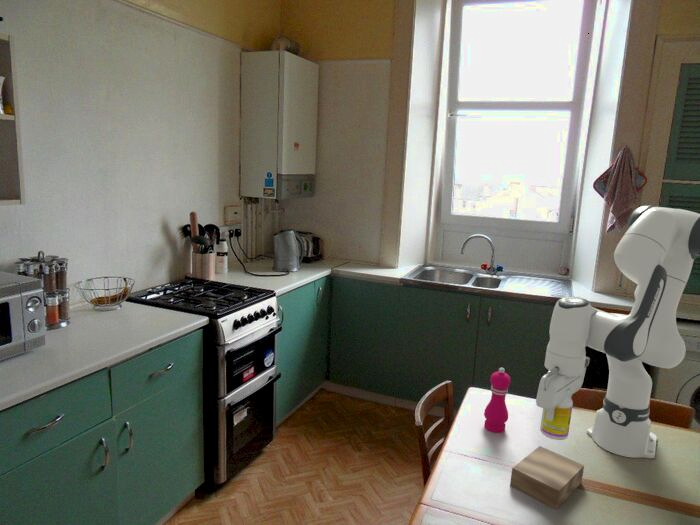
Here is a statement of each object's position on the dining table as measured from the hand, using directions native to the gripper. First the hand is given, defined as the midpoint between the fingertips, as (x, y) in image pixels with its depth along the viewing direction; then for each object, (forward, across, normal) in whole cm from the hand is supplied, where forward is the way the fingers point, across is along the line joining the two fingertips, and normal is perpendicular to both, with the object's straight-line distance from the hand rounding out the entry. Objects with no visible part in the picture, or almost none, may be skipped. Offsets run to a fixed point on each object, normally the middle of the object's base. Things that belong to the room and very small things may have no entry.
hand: (556, 414), depth 127 cm
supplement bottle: (+6, 0, 0) cm, 6 cm away
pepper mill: (+20, +16, +24) cm, 35 cm away
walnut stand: (+20, 0, 0) cm, 20 cm away
